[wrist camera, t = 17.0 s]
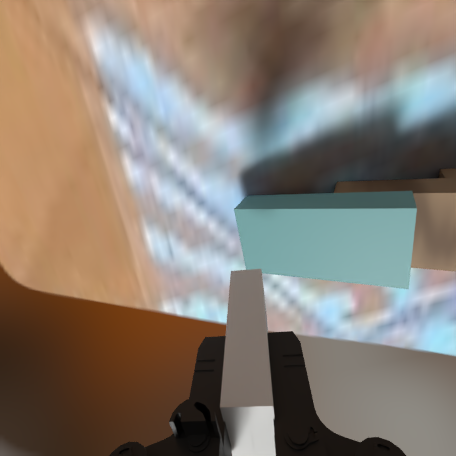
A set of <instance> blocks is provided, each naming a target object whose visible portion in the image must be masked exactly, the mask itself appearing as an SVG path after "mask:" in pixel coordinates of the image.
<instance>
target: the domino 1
mask: <svg viewBox="0 0 456 456" xmlns="http://www.w3.org/2000/svg"><path fill="white" fill-rule="evenodd" d="M234 211H235V216H236V221H237V226H238V231H239V236H240V241H241V246H242V251H243V256H244V261H245V266H246V270H251V269H261V270H262V273H266V274H275V275H284V276H293V277H302V278H312V279H321V280H330V281H339V282H348V283H357V284H366V285H376V286H385V287H394V288H403V289H409V279H410V270H411V260H412V251H413V241H414V231H415V222H416V212H417V207H416V203H415V199H414V196H413V192H412V191H387V192H353V193H318V194H284V195H250V196H247V197H246V198H245V199H244V200H243V201H242V202H241V203H240V204H239V205H238V206H237V207H236V208H235V209H234Z"/></svg>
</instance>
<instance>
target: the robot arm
mask: <svg viewBox="0 0 456 456" xmlns="http://www.w3.org/2000/svg"><path fill="white" fill-rule="evenodd" d="M194 371H195V372H194V375H193V381H192V386H191V392H190V397H189V399H188V400H186V401H184V402H183V403H182V404H180V405H179V406H178V407H177V408H176V409H175V411H174V412H173V413H172V416H171V418H170V421H169V422H170V426H171V428H172V430H173V433H174V434H172V435H171V436H170V437H168V438H166V439H164V440H162V441H160V442H157V443H154V444H152V445H149V446H147V447H144V446H142V445H141V444H139V443H138V442H128V443H126V444H123V445H121V446H119V447H118V448H117V449H115V450H114V451H113V452H112V453H111V454H110V456H231V452H232V456H406V455H405V454H404V453H403V451H402V450H401V449H400V448H399V447H397V446H396V445H394V444H393V443H391V442H390V441H388V440H385V439H382V438H379V437H373V438H367V439H365V440H364V441H362V442H357V441H354V440H351V439H348V438H345V437H343V436H340V435H338V434H336V433H334V432H332V431H331V430H329V429H328V428H327V427H326V426H325V425H324V424H323V423H322V422H321V421H320V419H319V417H318V416H317V414H316V411H315V408H314V404H313V399H312V394H311V390H310V385H309V381H308V376H307V371H306V368H305V362H304V358H303V353H302V348H301V343H300V341H299V340H298V338H297V337H296V335H295V334H294V333H293V331H290V332H273V333H268V327H267V316H266V306H265V297H264V288H263V279H262V270H261V269H251V270H240V271H231V277H230V290H229V302H228V314H227V326H226V336H220V337H205V339H204V340H203V342H202V343H201V345H200V347H199V348H198V354H197V359H196V364H195V370H194Z"/></svg>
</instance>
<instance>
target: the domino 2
mask: <svg viewBox="0 0 456 456" xmlns="http://www.w3.org/2000/svg"><path fill="white" fill-rule="evenodd" d="M387 191H412V192H413V196H414V199H415V203H416V207H417V212H416V222H415V231H414V241H413V251H412V260H411V268H423V269H434V270H445V271H456V178H435V179H404V180H373V181H341V182H337V184H336V187H335V190H334V193H353V192H387Z"/></svg>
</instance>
